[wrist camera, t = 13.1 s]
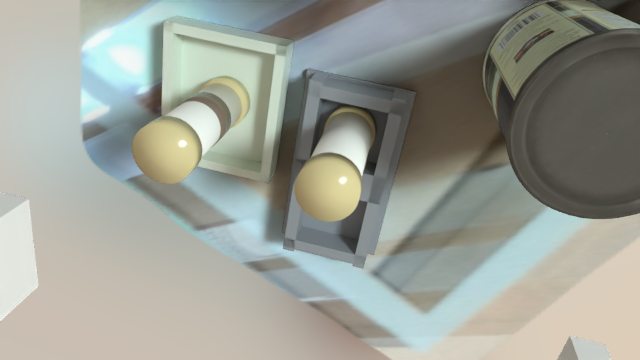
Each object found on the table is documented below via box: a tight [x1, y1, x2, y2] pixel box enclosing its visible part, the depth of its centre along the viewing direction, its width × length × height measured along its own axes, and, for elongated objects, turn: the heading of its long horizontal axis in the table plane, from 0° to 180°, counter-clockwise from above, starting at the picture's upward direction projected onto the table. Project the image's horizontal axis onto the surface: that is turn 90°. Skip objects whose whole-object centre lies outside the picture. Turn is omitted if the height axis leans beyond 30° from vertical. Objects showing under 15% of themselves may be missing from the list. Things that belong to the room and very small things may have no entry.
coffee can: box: [483, 0, 640, 219], centre depth 33 cm, size 10×10×14 cm
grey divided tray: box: [282, 69, 416, 269], centre depth 44 cm, size 16×9×3 cm, turn 171°
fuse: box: [294, 104, 377, 222], centre depth 38 cm, size 4×4×12 cm
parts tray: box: [161, 16, 294, 183], centre depth 44 cm, size 12×10×2 cm
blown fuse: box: [132, 76, 250, 184], centre depth 39 cm, size 4×4×12 cm
